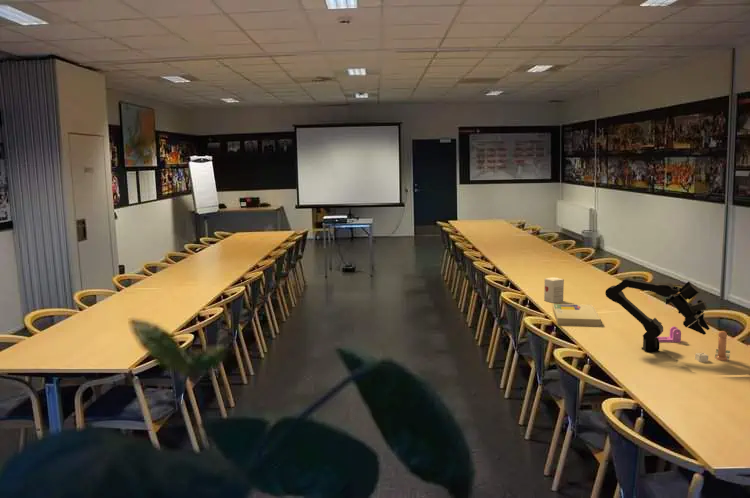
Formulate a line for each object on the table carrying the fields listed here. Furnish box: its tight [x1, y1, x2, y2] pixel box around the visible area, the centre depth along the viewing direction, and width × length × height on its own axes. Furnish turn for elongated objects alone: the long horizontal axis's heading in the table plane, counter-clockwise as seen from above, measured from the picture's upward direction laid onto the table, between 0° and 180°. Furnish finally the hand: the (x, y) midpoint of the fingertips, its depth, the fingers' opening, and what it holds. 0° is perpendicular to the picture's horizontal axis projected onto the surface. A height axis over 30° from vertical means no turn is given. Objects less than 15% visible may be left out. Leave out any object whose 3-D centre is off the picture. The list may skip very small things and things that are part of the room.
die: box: [694, 352, 709, 363], centre depth 294 cm, size 4×4×4 cm
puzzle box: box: [552, 303, 602, 327], centre depth 377 cm, size 36×5×24 cm
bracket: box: [657, 326, 682, 343], centre depth 328 cm, size 13×6×7 cm, turn 83°
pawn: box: [716, 330, 728, 362], centre depth 294 cm, size 5×5×13 cm
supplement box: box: [543, 276, 565, 304], centre depth 419 cm, size 9×9×15 cm
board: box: [714, 348, 731, 362], centre depth 300 cm, size 20×6×1 cm, turn 150°
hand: (707, 331), depth 297 cm, fingers open, 9 cm apart
